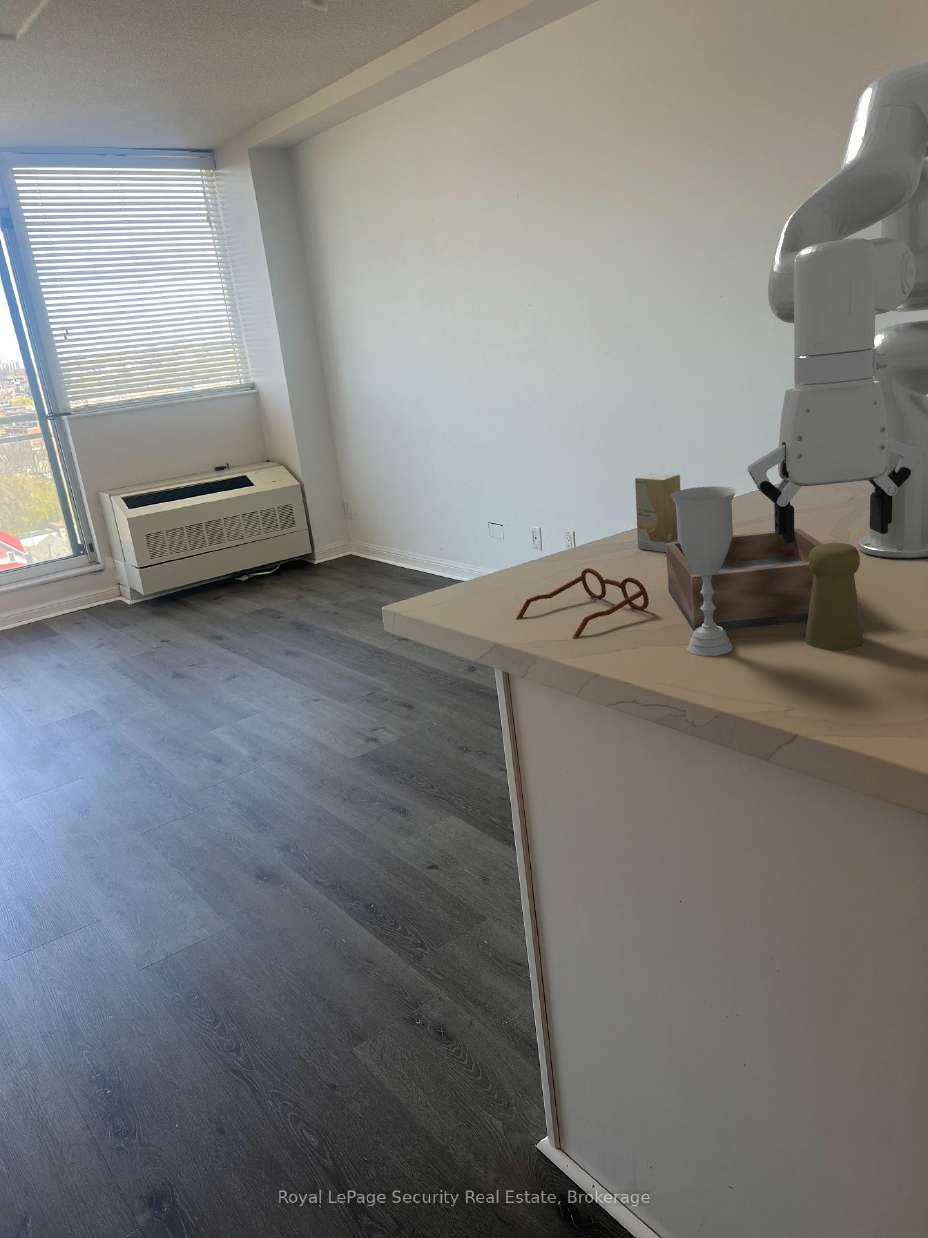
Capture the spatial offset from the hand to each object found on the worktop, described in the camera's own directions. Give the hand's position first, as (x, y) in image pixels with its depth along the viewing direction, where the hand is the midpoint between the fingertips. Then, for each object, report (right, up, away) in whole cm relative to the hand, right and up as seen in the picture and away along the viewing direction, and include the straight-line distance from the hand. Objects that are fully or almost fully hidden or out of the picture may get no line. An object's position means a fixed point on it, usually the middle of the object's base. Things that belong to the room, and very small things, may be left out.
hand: (832, 535), depth 94 cm
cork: (+2, -11, +4) cm, 12 cm away
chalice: (-11, -12, +7) cm, 18 cm away
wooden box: (-2, -7, +20) cm, 21 cm away
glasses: (-24, -9, +24) cm, 35 cm away
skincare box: (-7, +3, +53) cm, 53 cm away
